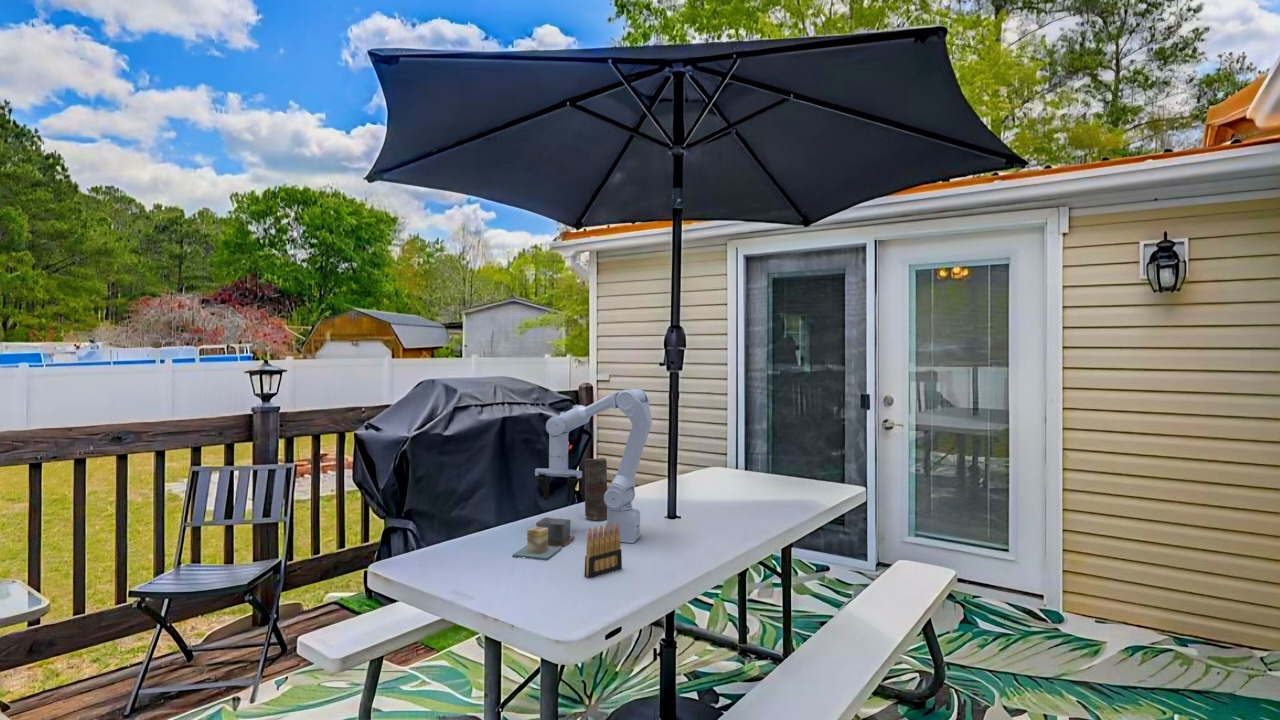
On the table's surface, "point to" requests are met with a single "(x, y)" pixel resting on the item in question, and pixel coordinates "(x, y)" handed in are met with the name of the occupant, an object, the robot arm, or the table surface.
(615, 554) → the ammunition clip
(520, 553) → the mat
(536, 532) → the block
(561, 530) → the mounted unit
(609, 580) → the table surface
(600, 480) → the candle
